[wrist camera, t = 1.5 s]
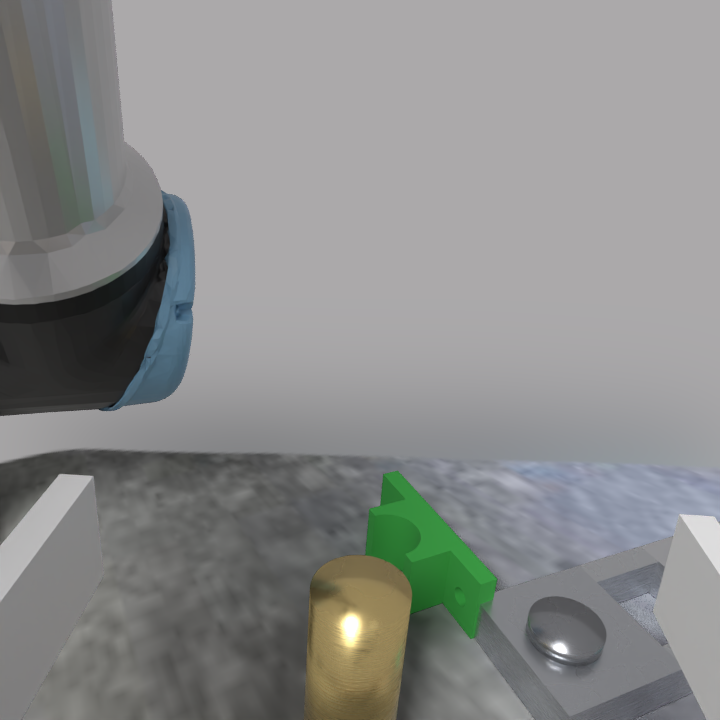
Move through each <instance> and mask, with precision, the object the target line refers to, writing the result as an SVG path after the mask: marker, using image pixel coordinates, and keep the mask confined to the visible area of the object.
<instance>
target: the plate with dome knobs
mask: <svg viewBox="0 0 720 720" xmlns="http://www.w3.org/2000/svg"><path fill="white" fill-rule="evenodd" d="M718 523H719V524H720V522H718ZM672 540H673V536H672V537H669V538H666V539H663V540H659V541H656V542H653V543H650V544H647V545H643V546H640V547H637V548H634V549H631V550H627V551H624V552H621V553H618V554H615V555H611V556H608V557H605V558H602V559H599V560H596V561H592V562H589V563H586V564H583V565H580V566H576V567H573V568H570V569H567V570H564V571H560V572H557V573H554V574H551V575H548V576H544V577H541V578H538V579H535V580H532V581H528V582H525V583H522V584H519V585H516V586H512V587H509V588H506V589H503V590H500V591H496V592H495V593H494V598H493V600H490V601H488V602H485V603H482V604H480V607H479V613H478V618H477V623H476V629H475V634H474V638H475V639H476V641H477V642H478V643H479V645H480V646H481V647H482V649H483V650H484V651H485V653H486V654H487V655H488V657H489V658H490V659H491V661H492V662H493V663H494V665H495V666H496V667H497V669H498V670H499V671H500V673H501V674H502V675H503V677H504V678H505V679H506V681H507V682H508V683H509V685H510V686H511V688H512V689H513V690H514V692H515V693H516V694H517V696H518V697H519V698H520V700H521V701H522V702H523V704H524V705H525V706H526V708H527V709H528V710H529V712H530V713H531V714H532V716H533V717H534V718H535V720H633V719H635V718H637V717H639V716H642V715H644V714H646V713H648V712H650V711H653V710H655V709H657V708H659V707H662V706H664V705H666V704H668V703H671V702H673V701H675V700H677V699H680V698H682V697H684V696H686V695H689V694H691V693H693V691H692V689H691V687H690V685H689V683H688V681H687V679H686V677H685V675H684V673H683V671H682V669H681V667H680V665H679V663H678V661H677V659H676V657H675V655H674V653H673V651H672V649H671V647H670V645H669V644H666V645H664V646H662V645H661V644H660V643H659V642H658V641H657V640H655V639H654V638H653V637H652V636H651V635H650V634H649V633H648V632H647V631H646V630H645V629H644V628H643V627H642V626H641V625H640V624H639V623H638V622H637V621H636V620H635V619H634V618H633V617H632V616H631V615H630V614H629V613H628V612H627V611H626V610H625V609H624V608H623V607H621V606H620V605H619V604H618V603H620V602H623V601H626V600H629V599H632V598H635V597H638V596H640V595H643V594H646V593H650V594H651V595H652V596H653V597H654V598H655V599H657V595H658V591H659V588H660V584H661V580H662V577H663V573H664V569H665V565H666V562H667V558H668V554H669V551H670V547H671V543H672Z"/></svg>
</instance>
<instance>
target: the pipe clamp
mask: <svg viewBox="0 0 720 720" xmlns="http://www.w3.org/2000/svg"><path fill="white" fill-rule="evenodd" d="M365 555H366V556H372V557H376V558H379V559H382V560H385V561H387V562H389V563H391V564H392V565H394V566H395V567H397V568H398V569H399V570H401V571H403V574H404V575H405V576H406V578H407V579H408V581H409V583H410V586H411V589H412V601H411V609H410V614H412V613H415V612H418V611H421V610H424V609H427V608H429V607H432V606H435V605H438V604H441V603H443V604H444V606H445V607H446V608H447V609H448V611H449V612H450V613H451V615H452V616H453V617H454V618H455V620H456V621H457V622H458V623H459V625H460V626H461V627H462V628H463V630H464V631H465V632H466V634H467V635H468V636H469V637H470V639H472V638H474V634H475V629H476V623H477V618H478V613H479V607H480V604H482V603H485V602H488V601H490V600H493V598H494V593H495V588H496V582H497V578H496V577H495V576H494V575H493V574H492V573H491V572H490V571H489V570H488V568H487V567H486V566H485V565H484V564H483V563H482V562H481V561H480V560H479V559H478V558H477V556H476V555H475V554H474V553H473V552H472V551H471V550H470V549H469V548H468V547H467V546H466V545H465V543H464V542H463V541H462V540H461V539H460V538H459V537H458V536H457V535H456V534H455V533H454V531H453V530H452V529H451V528H450V527H449V526H448V525H447V524H446V523H445V522H444V521H443V519H442V518H441V517H440V516H439V515H438V514H437V513H436V512H435V511H434V510H433V509H432V508H431V506H430V505H429V504H428V503H427V502H426V501H425V500H424V499H423V498H422V497H421V496H420V494H419V493H418V492H417V491H416V490H415V489H414V488H413V487H412V486H411V485H410V484H409V482H408V481H407V480H406V479H405V478H404V477H403V476H402V475H401V474H400V473H399V472H398V471H395V472H390V473H386V474H383V483H382V494H381V504H380V506H378V507H374V508H371V509H369V520H368V531H367V542H366V554H365Z"/></svg>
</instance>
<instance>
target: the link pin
mask: <svg viewBox="0 0 720 720" xmlns="http://www.w3.org/2000/svg"><path fill="white" fill-rule="evenodd" d="M411 601H412V589H411V586H410V583H409V581H408V579H407V578H406V576H405V575H404V574H403V573H402V572H401V571H400V570H399V569H398V568H397V567H395V566H394V565H392V564H391V563H389V562H387V561H385V560H382V559H379V558H376V557H372V556H366V555H349V556H343V557H339V558H336V559H334V560H331V561H329V562H328V563H326V564H324V565H323V566H322V567H321V568H320V569H319V570H318V571H317V572H316V573H315V575H314V576H313V578H312V581H311V585H310V599H309V621H308V642H307V664H306V685H305V707H304V720H396V717H397V709H398V701H399V693H400V686H401V678H402V670H403V663H404V655H405V647H406V640H407V632H408V624H409V616H410V609H411Z"/></svg>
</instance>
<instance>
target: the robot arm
mask: <svg viewBox="0 0 720 720" xmlns="http://www.w3.org/2000/svg"><path fill="white" fill-rule="evenodd" d="M116 57H117V56H116V46H115V35H114V24H113V12H112V1H111V0H0V416H5V415H19V414H32V413H44V412H58V411H74V410H75V411H76V410H92V409H99V410H101V411H114V410H117V409H119V408H121V407H122V406H127V405H135V404H143V403H151V402H157V401H160V400H162V399H165V398H166V397H168V396H170V395H171V394H172V393H173V392H174V391H175V390H176V389H177V387H178V386H179V384H180V383H181V381H182V379H183V376H184V373H185V370H186V366H187V362H188V358H189V352H190V346H191V339H192V328H193V316H192V310H191V308H192V306H193V300H194V291H195V253H194V240H193V230H192V224H191V218H190V214H189V210H188V208H187V205H186V204H185V202H184V201H183V200H182V199H181V198H179V197H178V196H176V195H172V194H166V193H165V192H163V191H162V190H161V188H160V186H159V183H158V181H157V178H156V176H155V174H154V172H153V170H152V168H151V167H150V166H149V164H148V163H147V162H146V161H145V159H144V158H143V157H142V156H141V155H140V154H139V153H138V152H137V151H136V150H135V149H134V148H132V147H131V146H130V145H128V144H127V143H126V142H124V134H123V123H122V113H121V101H120V90H119V79H118V68H117V58H116ZM103 576H104V567H103V558H102V549H101V540H100V531H99V522H98V512H97V503H96V494H95V485H94V476H85V475H70V474H59V475H58V477H57V478H56V479H55V480H54V481H53V483H52V484H51V485H50V486H49V487H48V489H47V490H46V491H45V492H44V493H43V495H42V496H41V497H40V498H39V500H38V501H37V502H36V503H35V504H34V506H33V507H32V508H31V509H30V510H29V512H28V513H27V514H26V515H25V516H24V518H23V519H22V520H21V521H20V522H19V524H18V525H17V526H16V527H15V528H14V530H13V531H12V532H11V533H10V534H9V536H8V537H7V538H6V539H5V541H4V542H3V543H2V544H1V545H0V720H22V718H23V716H24V715H25V713H26V711H27V709H28V708H29V706H30V704H31V702H32V701H33V699H34V697H35V695H36V694H37V692H38V690H39V688H40V687H41V685H42V683H43V681H44V680H45V678H46V676H47V674H48V673H49V671H50V669H51V667H52V666H53V664H54V662H55V660H56V659H57V657H58V655H59V653H60V652H61V650H62V648H63V646H64V645H65V643H66V641H67V639H68V638H69V636H70V634H71V632H72V631H73V629H74V627H75V625H76V623H77V622H78V620H79V618H80V616H81V615H82V613H83V611H84V609H85V608H86V606H87V604H88V602H89V601H90V599H91V597H92V595H93V594H94V592H95V590H96V588H97V587H98V585H99V583H100V581H101V580H102V578H103ZM653 613H654V615H655V617H656V619H657V621H658V623H659V625H660V627H661V629H662V631H663V633H664V635H665V637H666V639H667V641H668V643H669V645H670V647H671V649H672V651H673V653H674V655H675V657H676V659H677V661H678V663H679V665H680V667H681V669H682V671H683V673H684V675H685V677H686V679H687V681H688V683H689V685H690V687H691V689H692V691H693V693H694V695H695V697H696V699H697V701H698V703H699V705H700V707H701V709H702V711H703V713H704V715H705V717H706V719H707V720H720V524H719V523H718V521H717V520H716V519H715V517H713V516H697V515H682V514H679V518H678V521H677V525H676V529H675V532H674V536H673V540H672V543H671V547H670V551H669V554H668V558H667V562H666V565H665V569H664V573H663V577H662V580H661V584H660V588H659V591H658V595H657V599H656V602H655V606H654V610H653Z"/></svg>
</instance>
